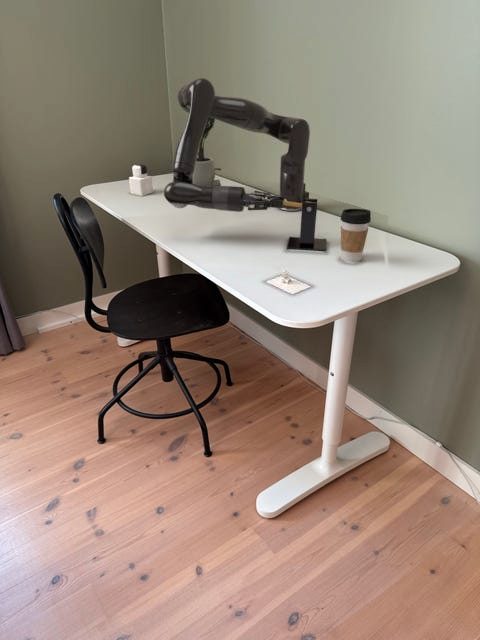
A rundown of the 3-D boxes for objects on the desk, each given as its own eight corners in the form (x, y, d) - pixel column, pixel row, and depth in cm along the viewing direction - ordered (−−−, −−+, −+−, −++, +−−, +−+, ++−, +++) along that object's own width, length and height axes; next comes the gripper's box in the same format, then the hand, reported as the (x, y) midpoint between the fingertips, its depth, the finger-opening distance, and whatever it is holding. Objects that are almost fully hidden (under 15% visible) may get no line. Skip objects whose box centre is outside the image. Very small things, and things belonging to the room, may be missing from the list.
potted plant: (178, 190, 214) (171, 78, 192) (220, 188, 217) (217, 78, 194) (180, 203, 195) (172, 81, 173) (225, 201, 198) (223, 80, 176)
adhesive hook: (286, 279, 130) (286, 268, 128) (293, 282, 128) (293, 271, 126) (278, 282, 128) (278, 271, 126) (285, 285, 126) (285, 274, 125)
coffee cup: (359, 267, 136) (366, 216, 129) (331, 262, 140) (336, 212, 133) (369, 258, 143) (376, 209, 135) (342, 253, 147) (347, 204, 139)
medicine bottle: (142, 190, 214) (139, 162, 208) (153, 192, 211) (151, 164, 205) (130, 193, 209) (127, 165, 203) (141, 196, 206) (138, 167, 200)
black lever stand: (286, 251, 148) (288, 204, 141) (289, 240, 157) (291, 195, 149) (325, 253, 146) (329, 206, 139) (326, 242, 155) (330, 197, 148)
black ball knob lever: (266, 208, 146) (268, 196, 144) (268, 204, 149) (269, 193, 147) (312, 214, 144) (314, 202, 142) (313, 211, 147) (315, 199, 146)
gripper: (223, 192, 140) (282, 196, 138) (232, 180, 152) (286, 184, 150) (223, 217, 144) (280, 221, 142) (232, 204, 156) (285, 207, 154)
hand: (283, 202), depth 146 cm, fingers closed on black ball knob lever, 3 cm apart
